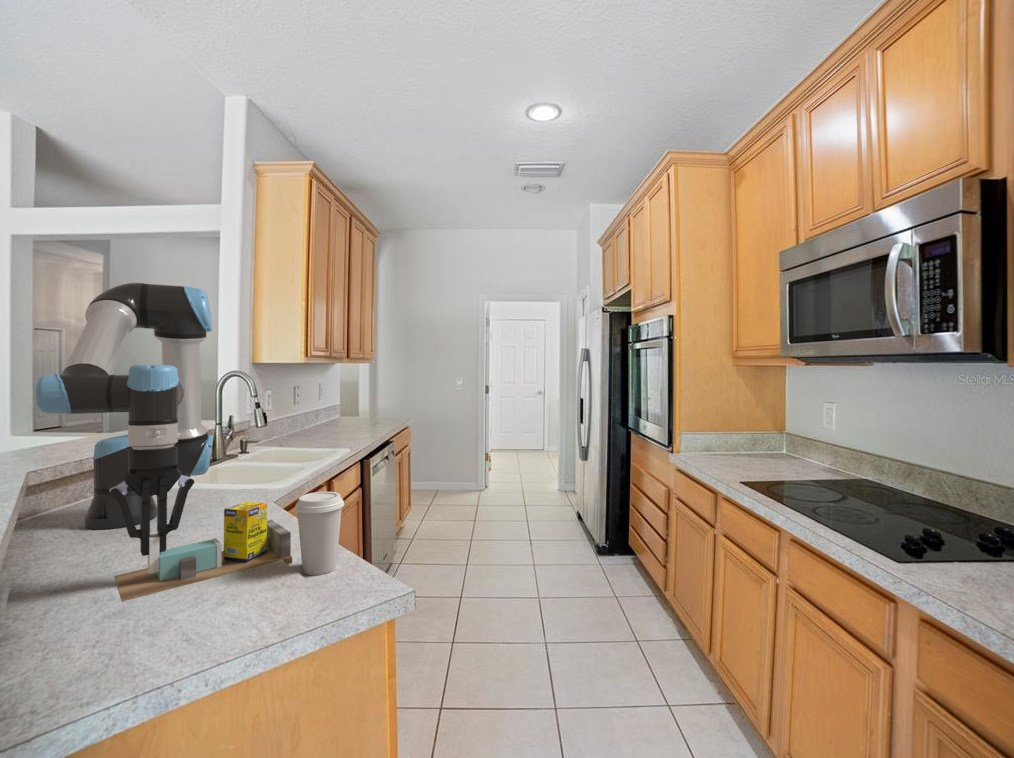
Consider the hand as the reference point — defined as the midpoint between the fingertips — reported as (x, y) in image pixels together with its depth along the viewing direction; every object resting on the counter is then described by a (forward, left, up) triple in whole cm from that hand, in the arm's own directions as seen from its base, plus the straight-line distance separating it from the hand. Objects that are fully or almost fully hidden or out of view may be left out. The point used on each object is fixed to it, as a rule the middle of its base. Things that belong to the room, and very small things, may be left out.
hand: (153, 570), depth 88 cm
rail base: (0, +9, -3) cm, 9 cm away
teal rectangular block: (0, +6, -2) cm, 6 cm away
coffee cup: (+14, +26, -3) cm, 30 cm away
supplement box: (0, +16, -2) cm, 16 cm away
